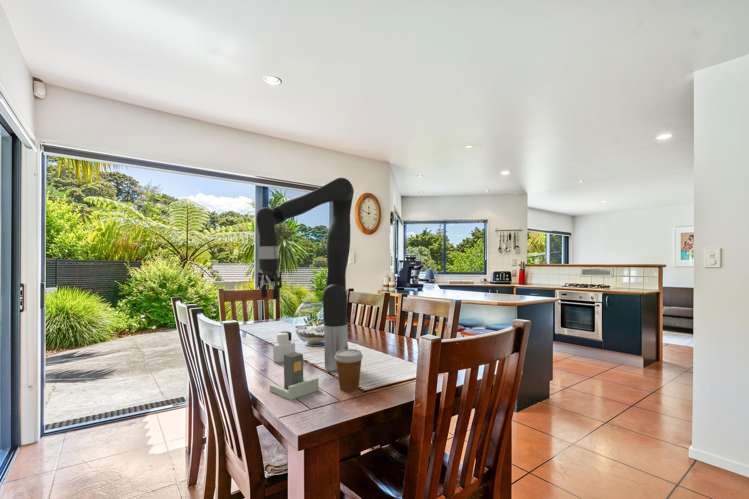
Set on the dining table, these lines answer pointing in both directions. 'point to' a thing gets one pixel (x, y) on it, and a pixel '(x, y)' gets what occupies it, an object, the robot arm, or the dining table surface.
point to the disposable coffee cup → (348, 369)
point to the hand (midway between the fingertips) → (269, 298)
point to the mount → (297, 389)
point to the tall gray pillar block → (293, 369)
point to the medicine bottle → (283, 346)
